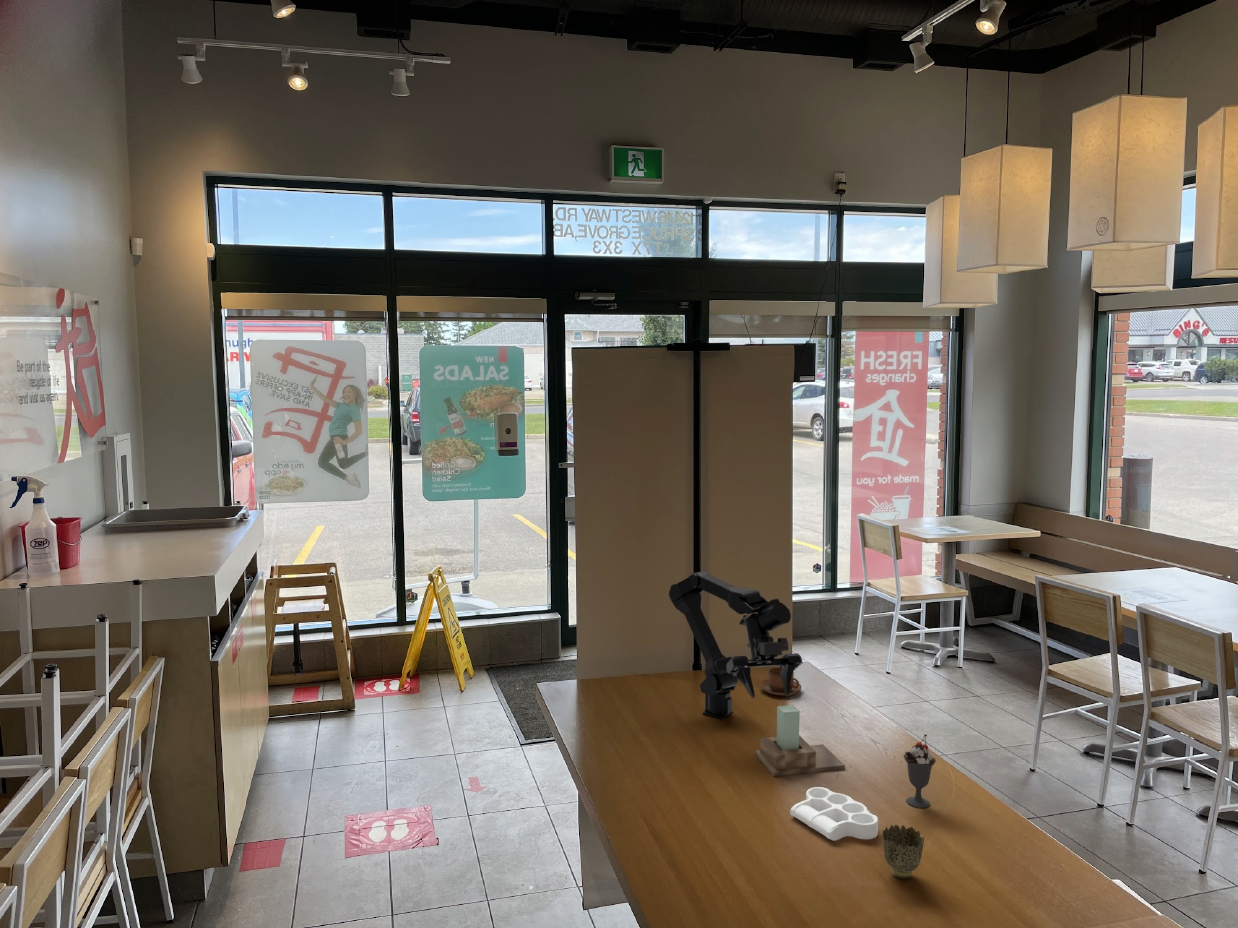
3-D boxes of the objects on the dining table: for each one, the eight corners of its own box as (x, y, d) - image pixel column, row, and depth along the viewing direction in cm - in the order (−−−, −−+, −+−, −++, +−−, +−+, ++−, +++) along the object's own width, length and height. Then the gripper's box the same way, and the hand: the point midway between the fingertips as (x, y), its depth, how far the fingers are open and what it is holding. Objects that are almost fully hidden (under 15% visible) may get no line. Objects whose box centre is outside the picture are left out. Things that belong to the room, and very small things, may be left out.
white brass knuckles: (779, 812, 185) (829, 795, 193) (841, 851, 170) (893, 831, 177) (780, 797, 185) (830, 781, 192) (841, 835, 169) (893, 816, 177)
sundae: (933, 797, 191) (936, 732, 189) (934, 812, 185) (936, 744, 183) (902, 793, 193) (904, 728, 192) (901, 807, 187) (904, 740, 185)
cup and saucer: (805, 688, 259) (805, 668, 259) (795, 701, 248) (796, 680, 248) (766, 682, 264) (766, 662, 264) (755, 695, 253) (755, 674, 253)
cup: (874, 864, 165) (876, 824, 164) (912, 862, 165) (913, 822, 164) (890, 887, 157) (891, 845, 156) (929, 885, 158) (931, 843, 157)
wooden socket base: (773, 776, 201) (773, 757, 201) (755, 754, 213) (755, 736, 212) (844, 768, 205) (845, 750, 205) (822, 747, 217) (823, 730, 216)
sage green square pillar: (782, 763, 206) (783, 712, 205) (776, 755, 210) (777, 706, 209) (798, 761, 207) (799, 711, 205) (791, 754, 211) (792, 704, 209)
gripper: (734, 627, 215) (746, 689, 207) (804, 624, 219) (817, 685, 212) (721, 642, 224) (731, 702, 217) (787, 638, 229) (800, 697, 221)
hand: (770, 696), depth 216 cm, fingers open, 9 cm apart
